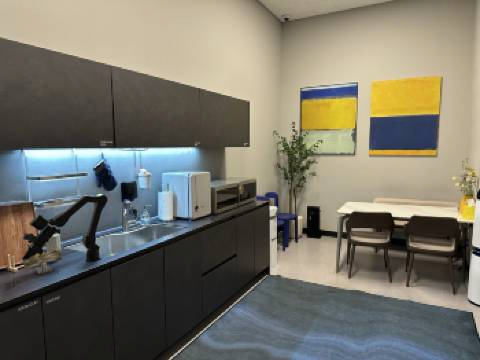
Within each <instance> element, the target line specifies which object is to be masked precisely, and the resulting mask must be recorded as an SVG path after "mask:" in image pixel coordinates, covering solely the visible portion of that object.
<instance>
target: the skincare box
mask: <svg viewBox="0 0 480 360" xmlns="http://www.w3.org/2000/svg"><path fill="white" fill-rule="evenodd" d="M45 247H46V248H45V249H46V253H47V252H50V251H53V250H55V248H57V247H59V248H60V249H61V252H62V242H61V233H60V234H58V233H55V234H54V235H53V236H52V237H51V238H50V239H49V242H47V243H46V244H45ZM48 262H57V261H56V260H55V259H54V260H51V261H48Z"/></svg>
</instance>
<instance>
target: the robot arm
mask: <svg viewBox="0 0 480 360" xmlns="http://www.w3.org/2000/svg"><path fill="white" fill-rule="evenodd" d="M108 201H109V198H108V197H107V196H106V195H104V194H103V193H98V194H96V195H94V194H93V195H90V194H89V195H88V194H87V195H86V194H84V195H82V196H81V198H79V199H78V200H77V201H76V202H75V203H73V204H72V205H71V206H69V207H68V208H67V209H66V210H65V211H63V212H61V213H58V214H57V215H55V216H54V217H53V218H50V219H46V218H45V217H43V215H41V214H38V215H36V217H33V218H32V220H31V221H30V222H29V225H30V226H32V228H33V229H36V231H41V232H40V233H37V234H34V233H31V232H27V231H26V232H24V234H23V236H22V239H23V240H25V241H26V242H27V243H28V244H27V249H26V252H25V253H24V254H23V256H22V258H21V260H22V259H23V260H25V259H27V258H29V257H31V256H33V255H35V254H36V255H41V254H44V245H45V246H46V243H47V242H49V239H50V238H51V237H52V236H53V235H54V234H60V235H61V229H60V228H63V227H64V226H65V225H66V224H67V223H68V221H69V220H70V218H71V217H72V216H73V215H75V214H77V212H78V211H79V210H81V208H83V207H84V206H85V205H86V204H88V203H93V211H92V215H91V219H90V223H89V226H88V230H87V231H86V233H83V235H82V238H81V240H80V241H81V243H82V246H83V247H84V248H86V253H85V257H86V259H85V261H86V262H91V263H93V262H96V261H100V260H101V259H102V257H100V248H101V247H100V246H99V245H98V244H97V243H96V242H97V236H96V235H97V234H96V233H97V230H98V226H99V222H100V220H101V219H100V218H101V217H102V216H101V215H102V212H103V209H105V208H106V205H107V203H108Z"/></svg>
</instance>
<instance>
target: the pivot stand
mask: <svg viewBox="0 0 480 360" xmlns="http://www.w3.org/2000/svg"><path fill="white" fill-rule="evenodd" d="M40 265H41V266H39V267H35V271H36V274H37V275H43V274H48V273H53V272H54V269H53V268H52V266H51V265H50V264H49V265H48V264H47V262H46V261H44V262H43V263H42V264H40Z"/></svg>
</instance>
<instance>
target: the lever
mask: <svg viewBox="0 0 480 360" xmlns="http://www.w3.org/2000/svg"><path fill="white" fill-rule="evenodd" d="M61 251H62V248H61V249H60V248H59V247H57V248H55V250H53V251H50V252H47V251H46V252H43V253H42V254H41V255H40V254H35V255H36V256H37V257H38V259H37V257H34V258H31V259H29V258H27V259H25V260H23V259H22V258H21V261H22V263H23V267H24V269H30V268H32V267H35V266H38V265H41V264H42V263H43V262H44V261H46V262H48V261H50V262H52V261H51V260H54V259H55V260H56V261H55V262H58V261H60V260H62V259H63V253H62V252H61Z"/></svg>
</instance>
